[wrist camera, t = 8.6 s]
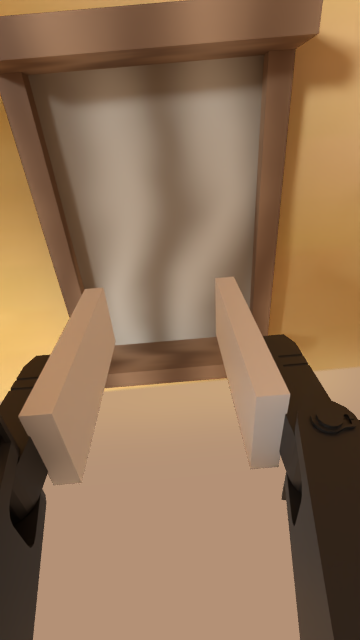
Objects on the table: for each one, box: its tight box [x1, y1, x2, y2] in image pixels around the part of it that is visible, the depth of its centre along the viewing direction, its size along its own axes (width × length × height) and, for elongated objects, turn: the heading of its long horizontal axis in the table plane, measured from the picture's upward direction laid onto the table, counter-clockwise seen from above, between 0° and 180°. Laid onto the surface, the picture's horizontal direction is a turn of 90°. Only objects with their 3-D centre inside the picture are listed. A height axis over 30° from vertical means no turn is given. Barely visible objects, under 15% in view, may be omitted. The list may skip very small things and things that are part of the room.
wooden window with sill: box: [0, 0, 323, 388], centre depth 22 cm, size 17×23×4 cm
